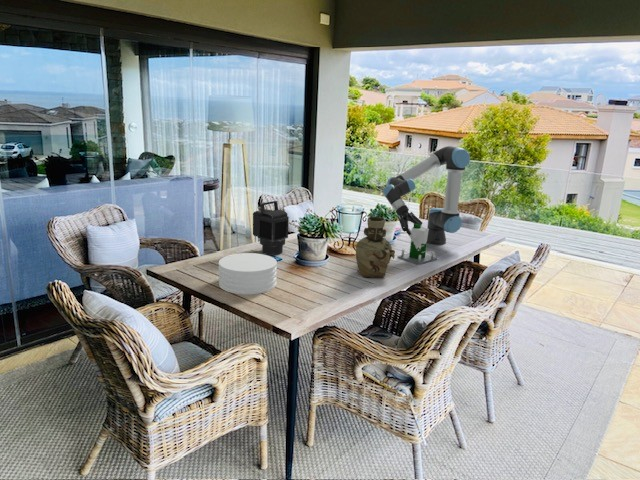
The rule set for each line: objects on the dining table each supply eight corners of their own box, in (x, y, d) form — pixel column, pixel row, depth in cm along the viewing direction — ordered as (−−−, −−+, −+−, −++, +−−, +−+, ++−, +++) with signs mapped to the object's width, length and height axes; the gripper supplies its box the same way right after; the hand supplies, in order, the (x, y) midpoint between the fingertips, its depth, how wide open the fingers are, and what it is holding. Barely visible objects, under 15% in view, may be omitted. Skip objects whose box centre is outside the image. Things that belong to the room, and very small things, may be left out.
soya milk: (413, 253, 294) (417, 222, 289) (427, 257, 289) (430, 225, 283) (407, 257, 287) (410, 224, 282) (420, 260, 282) (424, 227, 277)
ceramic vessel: (384, 282, 247) (389, 226, 239) (348, 274, 257) (351, 219, 248) (397, 272, 263) (403, 219, 255) (363, 264, 273) (366, 213, 264)
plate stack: (249, 270, 256) (249, 249, 252) (288, 284, 239) (288, 262, 236) (207, 283, 235) (206, 261, 231) (245, 299, 218) (245, 275, 215)
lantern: (273, 257, 278) (274, 206, 270) (251, 250, 288) (251, 201, 280) (290, 251, 290) (291, 203, 281) (268, 245, 300) (269, 198, 292)
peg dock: (416, 252, 300) (416, 245, 299) (437, 259, 289) (438, 251, 287) (397, 257, 289) (398, 249, 287) (418, 264, 277) (419, 256, 276)
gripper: (406, 208, 301) (425, 236, 296) (384, 214, 283) (404, 244, 278) (415, 201, 297) (434, 230, 291) (393, 207, 278) (413, 237, 273)
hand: (419, 237), depth 285 cm, fingers open, 13 cm apart
